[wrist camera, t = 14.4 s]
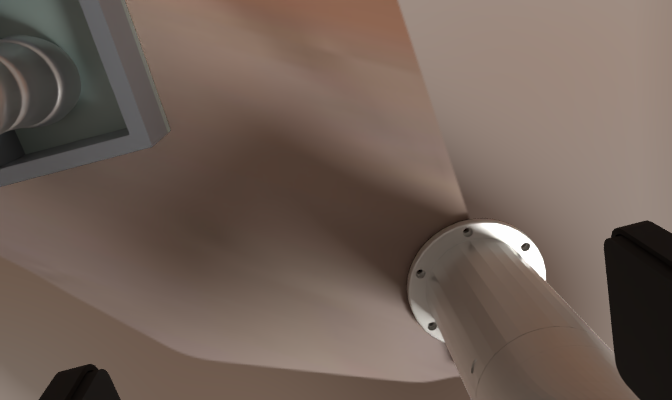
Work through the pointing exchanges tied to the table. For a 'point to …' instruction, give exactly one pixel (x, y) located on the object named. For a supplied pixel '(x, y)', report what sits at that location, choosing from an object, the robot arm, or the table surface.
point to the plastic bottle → (35, 83)
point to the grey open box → (84, 88)
